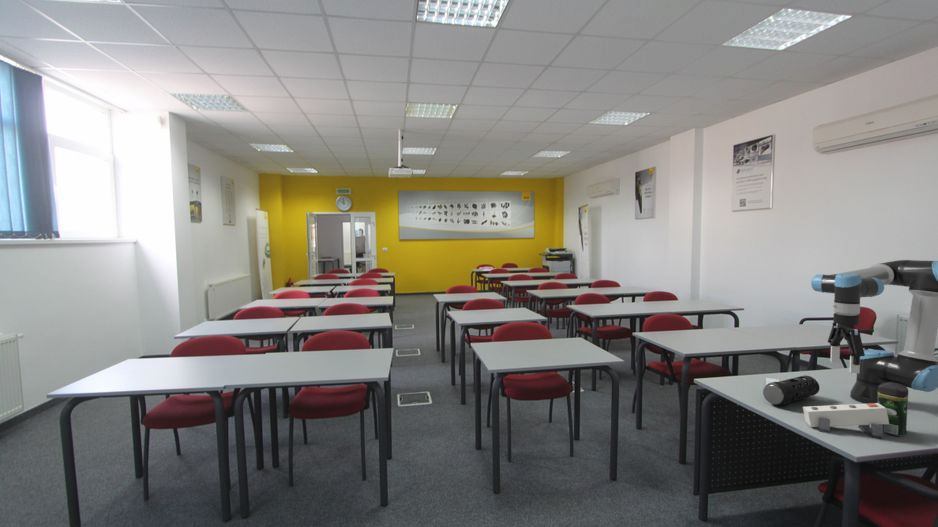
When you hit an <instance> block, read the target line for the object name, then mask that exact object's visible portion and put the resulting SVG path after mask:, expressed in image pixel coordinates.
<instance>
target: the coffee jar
mask: <svg viewBox="0 0 938 527" xmlns="http://www.w3.org/2000/svg"><path fill="white" fill-rule="evenodd" d="M908 401H909V388H908V387H905V386H904V385H903V384H898V383H893V382H887V383H882V384H880V385H879V386H878V403H879V404H881V405H882V406H884V407H885V408H886V410H887V415H888V420H889V424H880V425H883V434H885V435H888V436H896V437H902V436H904V435H906V433H907V425H908V424H907V423H908V422H907V421H908V403H909V402H908Z"/></svg>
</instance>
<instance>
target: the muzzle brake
mask: <svg viewBox="0 0 938 527" xmlns="http://www.w3.org/2000/svg"><path fill="white" fill-rule="evenodd" d="M819 391H820V383H819V382H818V381H817V380H816V379H815V378H814V377H812V376H810V375H799V376H796V377H793V378H788V379H784V380H778V381H772V382H769V383H767V384H766V385H765V386H764V388H763V390H762V395H763V397H764V399H765V400H766V401H767V402H768V403H769V404H772V405H776V406H784V405H787V404H789V403H791V402H795V401H799V400H802V399H806V398H809V397H811V396H815V395H817V394H818V393H819Z"/></svg>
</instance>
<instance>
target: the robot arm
mask: <svg viewBox="0 0 938 527" xmlns="http://www.w3.org/2000/svg"><path fill="white" fill-rule="evenodd" d="M886 285H887V286H888V285H889V286H897V287H898V286H900V287H907V288H908V292H909V293H910V294H911V295H912V299H911V304H910V312H909V317H908V322H907V323H908V324H907V329H906V335H905V341H904V347H903V350H902V351H900V352H897V356H895V353H894V352H893V351H890V350H882V349H864V345H863V343H862V336H861V330H860V329H857V328H856V329H855V326H858V325H860V313H861V298H872V297H873V298H874V297H877V296H879V295H882V294H883V292H884V291H885V286H886ZM810 286H811V288H812V290H814V291H815V292H821V293H826V294H834V300H833V302H834V303H833V305H832V306H833V312H834V313H833V320H832V321H833V322H832V326H831V330H830V332H829V336H828V339H827V342H828V344H829V345H830V360H829V362H830V363H840V359H841V358H840V357H841V356H840V355H841V342H842V341H843V340H845V341H846V343H847V346H848V348H849V350H850V354H849V373H851V374H856V378H855V383H854V385H853V386H852V388H851V390H850V394H849V395H850V398H851V399H853V400H854V401H857V402H860V403H861V404H869V403H878V386H879V385H880V384H882V383H887V382H893V383H898V384H903V385H904V386H905V387H907V388H908V389H909V388H910V389H912V390H914V391H920V392H921V391H922V392H924V393H925V392H927V393H928V392H929V393H930V392H932V391H935V390H937V389H938V359H937V358H936V357H935V356H934V354H935V348H936V342H937V336H938V260H915V259H914V260H913V259H900V260H892V261H886V262H881V263H876V264H873V265H871V266H870V267H867V268H862V269H856V270H851V271H849V270H848V271H845V272H840V273H833V274H816V275H814V276H813V277H812V278H811V282H810Z"/></svg>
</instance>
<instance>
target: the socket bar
mask: <svg viewBox="0 0 938 527" xmlns="http://www.w3.org/2000/svg"><path fill="white" fill-rule="evenodd" d="M802 410H803V415H804V420H805V423H806V424H807V425H808V426H810V427H811V428H815V427H819V418H827V419H830V427H844V426H845V427H846V426H847V427H848V426H849V427H850V426H858V425H870V426H871V424H889V420H888V415H887V410H886V408H885V407H884V406H882V405H881V404H879V403H869V404H866V403H851V404H837V405H836V404H835V405H834V404H833V405H831V404H830V405H829V404H828V405H814V406H812V405H810V406H802Z"/></svg>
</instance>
